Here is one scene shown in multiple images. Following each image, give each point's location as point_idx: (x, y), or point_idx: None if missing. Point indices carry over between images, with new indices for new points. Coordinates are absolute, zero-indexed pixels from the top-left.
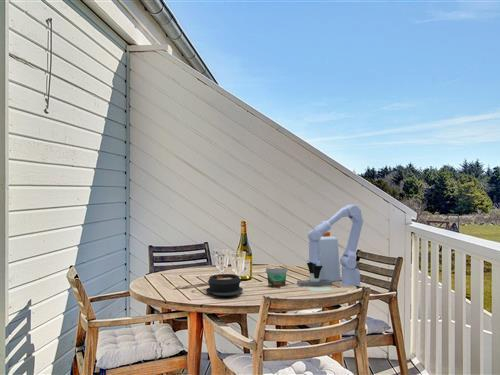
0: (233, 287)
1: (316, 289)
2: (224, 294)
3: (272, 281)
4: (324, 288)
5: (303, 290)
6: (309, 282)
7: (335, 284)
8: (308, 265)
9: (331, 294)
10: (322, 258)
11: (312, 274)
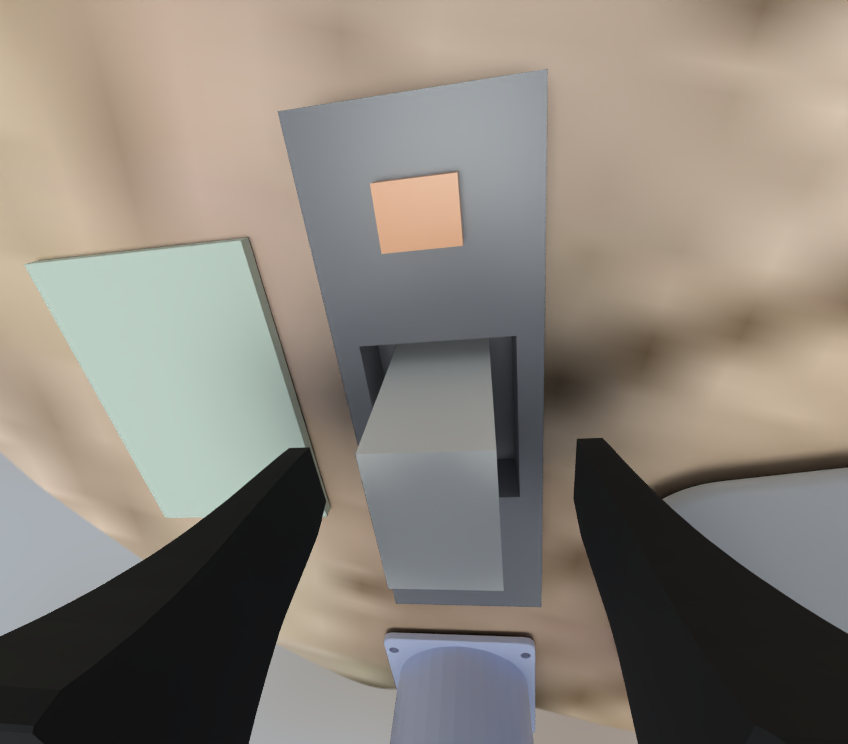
0: None
1: (142, 350)
2: None
3: None
4: (224, 452)
5: (100, 144)
6: (329, 322)
7: None
8: (700, 658)
9: (14, 448)
10: None
11: (361, 473)
